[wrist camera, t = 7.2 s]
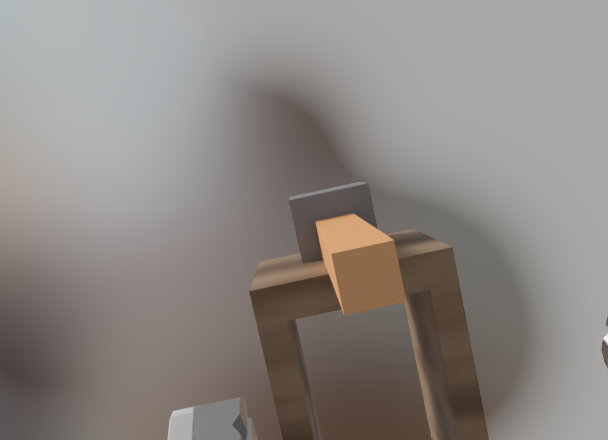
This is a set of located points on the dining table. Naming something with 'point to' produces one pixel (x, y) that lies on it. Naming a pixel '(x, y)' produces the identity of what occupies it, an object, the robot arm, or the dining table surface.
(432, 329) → the walnut shelf
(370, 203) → the hammer with orange handle
